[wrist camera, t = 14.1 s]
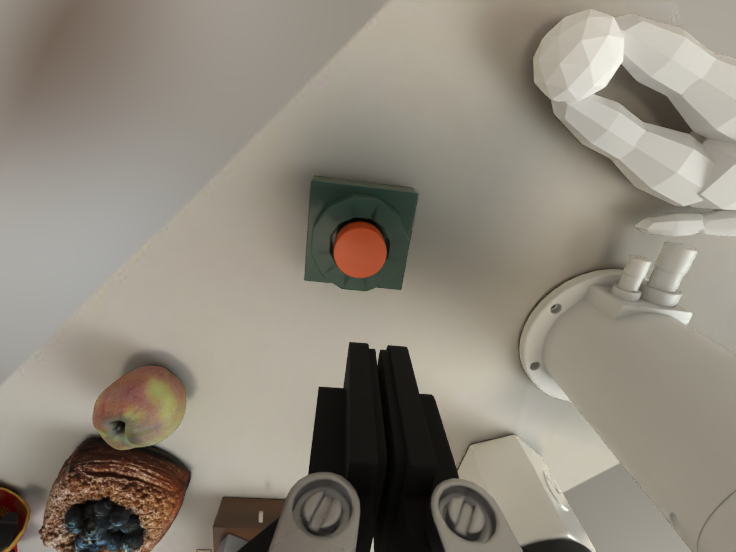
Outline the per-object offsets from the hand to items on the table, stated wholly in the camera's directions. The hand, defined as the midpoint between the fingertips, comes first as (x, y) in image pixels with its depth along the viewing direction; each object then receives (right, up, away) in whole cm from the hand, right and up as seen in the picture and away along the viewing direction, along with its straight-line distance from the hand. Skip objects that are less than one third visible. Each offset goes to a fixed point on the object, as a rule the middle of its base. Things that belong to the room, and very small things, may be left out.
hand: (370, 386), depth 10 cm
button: (-1, +5, +12) cm, 14 cm away
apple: (-18, -6, +20) cm, 27 cm away
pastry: (-24, -17, +25) cm, 38 cm away
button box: (-1, +7, +16) cm, 17 cm away
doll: (+10, +17, +10) cm, 22 cm away
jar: (+13, -16, +26) cm, 33 cm away
